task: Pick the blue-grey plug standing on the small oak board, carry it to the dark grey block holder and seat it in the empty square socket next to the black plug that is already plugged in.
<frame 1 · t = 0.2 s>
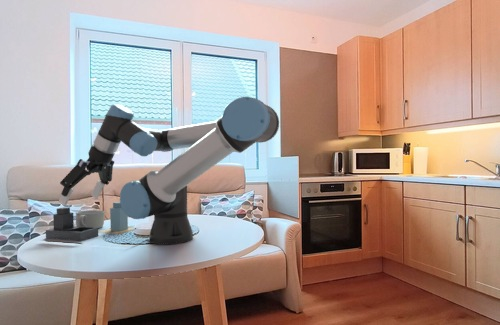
hand: (79, 199, 108), 15 cm above the table, tool tilted 35°, fingers open, 13 cm apart
teacup: (88, 231, 128), on the table
dark grey block holder: (72, 239, 114), on the table
plug: (119, 229, 124), point 1 cm above the table, touching board
board: (119, 232, 124), on the table
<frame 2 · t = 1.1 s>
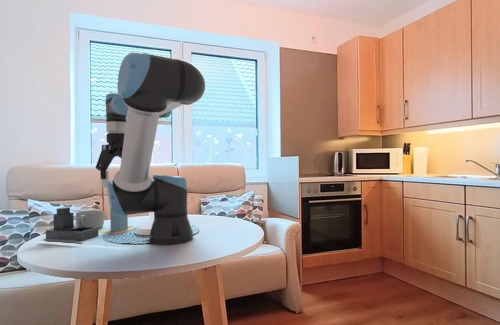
hand: (117, 186, 124), 19 cm above the table, tool pointing down, fingers open, 13 cm apart
nothing on the table moved.
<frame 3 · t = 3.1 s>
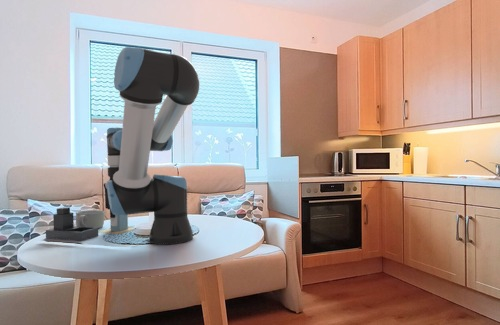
hand: (119, 224, 124), 3 cm above the table, tool pointing down, fingers closed on plug, 4 cm apart
plug: (119, 229, 124), point 1 cm above the table, touching board, gripper
everything else where it was.
when the fingers open (5 cm above the table, at t = 6.7 s): plug drops 3 cm, resting on dark grey block holder.
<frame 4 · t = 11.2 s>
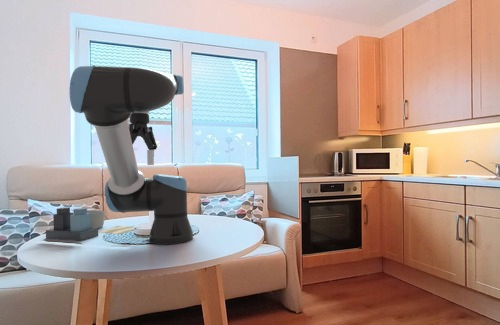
hand: (140, 165, 127), 27 cm above the table, tool pointing down, fingers open, 13 cm apart
plug: (80, 238, 113), resting on dark grey block holder
everything else where it was.
at the end: plug 0.1 cm from the target spot on the dark grey block holder, point 0.5 cm above the dark grey block holder's base; plug tilted 0°; the gripper is holding nothing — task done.
